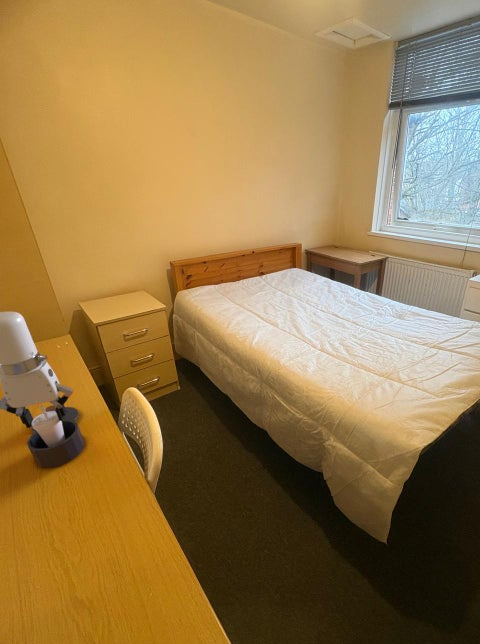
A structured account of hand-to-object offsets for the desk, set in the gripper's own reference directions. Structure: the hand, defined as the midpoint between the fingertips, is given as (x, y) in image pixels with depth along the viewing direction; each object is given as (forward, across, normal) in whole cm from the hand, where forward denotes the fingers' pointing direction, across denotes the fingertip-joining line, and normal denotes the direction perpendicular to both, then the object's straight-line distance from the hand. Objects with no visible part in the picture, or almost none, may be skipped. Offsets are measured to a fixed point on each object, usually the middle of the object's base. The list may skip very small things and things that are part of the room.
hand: (46, 420), depth 84 cm
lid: (+11, +4, -14) cm, 18 cm away
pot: (+11, 0, 0) cm, 11 cm away
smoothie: (+9, 0, 0) cm, 9 cm away
